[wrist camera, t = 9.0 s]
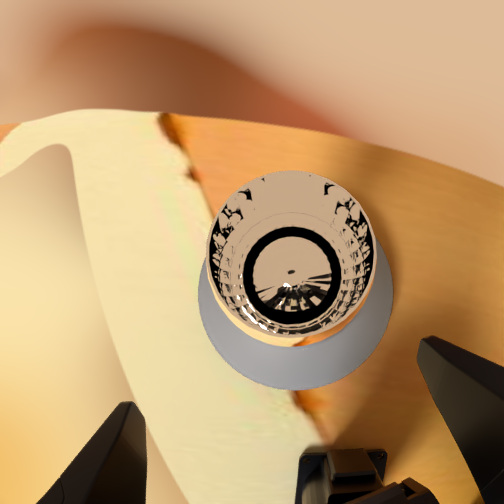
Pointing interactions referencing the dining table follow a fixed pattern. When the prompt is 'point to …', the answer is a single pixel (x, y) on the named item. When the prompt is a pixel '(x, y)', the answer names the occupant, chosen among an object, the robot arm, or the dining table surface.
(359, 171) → the dining table surface
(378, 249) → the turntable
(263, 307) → the wineglass
